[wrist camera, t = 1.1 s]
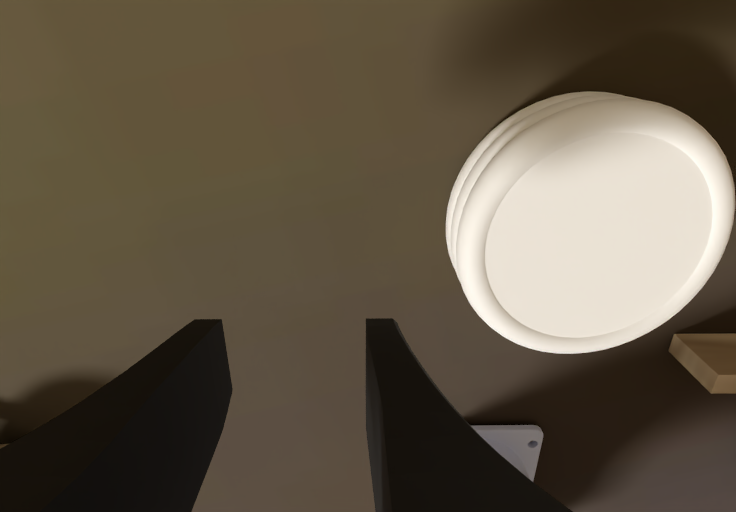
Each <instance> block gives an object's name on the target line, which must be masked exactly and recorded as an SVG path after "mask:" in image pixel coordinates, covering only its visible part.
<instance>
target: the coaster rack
mask: <svg viewBox="0 0 736 512" xmlns="http://www.w3.org/2000/svg"><path fill="white" fill-rule="evenodd" d="M668 351H669V352H670V353H671V354H672V355H673V356H674V357H675V358H676V359H677V360H678V361H679V362H680V363H681V364H682V365H683V366H684V367H685V368H686V369H687V370H688V371H689V372H690V373H691V374H692V375H693V376H694V377H695V378H696V379H697V380H698V381H699V382H700V383H701V384H702V385H703V386H704V387H705V388H706V389H707V390H708V391H709V392H710V393H711V394H716V393H736V333H729V334H674V336H673V339H672V341H671V344H670V347H669V350H668Z"/></svg>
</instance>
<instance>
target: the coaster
mask: <svg viewBox="0 0 736 512" xmlns="http://www.w3.org/2000/svg"><path fill="white" fill-rule="evenodd" d="M734 213H735V187H734V182H733V177H732V172H731V169H730V167H729V164H728V161H727V159H726V156H725V154H724V153H723V151H722V150H721V148H720V146H719V145H718V143H717V142H716V141H715V140H714V138H713V137H712V136H711V135H710V134H709V133H708V132H707V131H706V130H705V129H704V128H703V127H702V126H701V125H700V124H698V123H697V122H696V121H694V120H693V119H692V118H691V117H689V116H688V115H686V114H684V113H682V112H680V111H678V110H676V109H674V108H673V107H670V106H667V105H664V104H661V103H658V102H653V101H647V100H641V99H638V98H634V97H628V96H623V95H620V94H614V93H608V92H592V91H586V92H575V93H567V94H563V95H558V96H553V97H550V98H548V99H545V100H542V101H539V102H536V103H534V104H532V105H530V106H528V107H526V108H524V109H522V110H520V111H518V112H517V113H515V114H514V115H512V116H510V117H509V118H507V119H506V120H504V121H503V122H502V123H500V124H499V125H498V126H497V127H495V128H494V129H493V130H492V131H491V132H490V133H489V134H488V135H487V136H486V137H485V138H484V139H483V140H482V141H481V142H480V143H479V144H478V145H477V146H476V148H475V149H474V151H473V152H472V153H471V155H470V156H469V157H468V159H467V160H466V162H465V164H464V166H463V167H462V169H461V171H460V173H459V175H458V177H457V179H456V182H455V184H454V187H453V189H452V192H451V196H450V200H449V203H448V208H447V216H446V241H447V247H448V252H449V255H450V258H451V261H452V264H453V267H454V268H455V270H456V273H457V276H458V279H459V281H460V282H461V285H462V288H463V291H464V293H465V295H466V297H467V299H468V301H469V303H470V304H471V306H472V307H473V309H474V310H475V311H476V313H477V314H478V315H479V316H480V317H481V318H482V319H483V320H484V321H485V322H486V323H487V324H488V325H489V326H490V327H491V328H492V329H494V330H495V331H496V332H498V333H499V334H501V335H502V336H503V337H505V338H507V339H509V340H511V341H513V342H514V343H516V344H519V345H522V346H524V347H527V348H530V349H534V350H538V351H542V352H550V353H561V354H575V353H588V352H594V351H599V350H604V349H608V348H612V347H615V346H619V345H621V344H624V343H627V342H629V341H632V340H634V339H636V338H638V337H640V336H642V335H644V334H647V333H648V332H650V331H652V330H653V329H655V328H657V327H658V326H660V325H662V324H663V323H665V322H666V321H667V320H669V319H670V318H671V317H673V316H674V315H675V314H677V313H678V312H679V311H680V310H681V309H682V308H683V307H684V306H685V305H686V304H688V303H689V302H690V301H691V300H692V298H693V297H694V296H695V295H696V294H697V293H698V292H699V291H700V289H701V288H702V287H703V286H704V284H705V283H706V282H707V280H708V279H709V277H710V276H711V275H712V273H713V272H714V270H715V268H716V266H717V265H718V263H719V261H720V259H721V257H722V255H723V253H724V250H725V248H726V245H727V243H728V240H729V237H730V233H731V229H732V225H733V221H734Z"/></svg>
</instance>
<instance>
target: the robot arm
mask: <svg viewBox="0 0 736 512" xmlns="http://www.w3.org/2000/svg"><path fill="white" fill-rule="evenodd" d="M231 394H232V384H231V377H230V371H229V364H228V358H227V351H226V345H225V338H224V332H223V325H222V319H200V320H194V321H192V322H191V323H189V324H188V325H186V326H185V327H183V328H182V329H181V330H179V331H178V332H177V333H175V334H174V335H173V336H171V337H170V338H169V339H168V340H166V341H165V342H164V343H162V344H161V345H160V346H158V347H157V348H156V349H154V350H153V351H152V352H150V353H149V354H148V355H146V356H145V357H144V358H142V359H141V360H140V361H138V362H137V363H136V364H134V365H133V366H132V367H130V368H129V369H128V370H126V371H125V372H124V373H122V374H121V375H119V376H118V377H116V378H115V379H113V380H112V381H110V382H109V383H108V384H106V385H105V386H103V387H102V388H100V389H99V390H97V391H96V392H95V393H93V394H92V395H90V396H89V397H87V398H86V399H84V400H83V401H81V402H80V403H78V404H77V405H75V406H74V407H72V408H70V409H69V410H67V411H66V412H64V413H62V414H61V415H59V416H57V417H56V418H54V419H52V420H51V421H49V422H47V423H46V424H44V425H42V426H40V427H39V428H37V429H35V430H34V431H32V432H30V433H28V434H27V435H25V436H23V437H21V438H19V439H18V440H16V441H14V442H12V443H10V444H8V445H6V446H4V447H2V448H0V512H191V511H192V508H193V506H194V503H195V501H196V498H197V495H198V493H199V490H200V488H201V485H202V483H203V480H204V478H205V475H206V472H207V470H208V467H209V465H210V462H211V460H212V457H213V454H214V452H215V449H216V447H217V444H218V441H219V439H220V436H221V433H222V431H223V427H224V423H225V419H226V415H227V411H228V407H229V403H230V398H231ZM366 431H367V440H368V449H369V458H370V466H371V475H372V484H373V492H374V501H375V510H376V512H572V511H571V510H570V509H568V508H567V507H565V506H564V505H563V504H561V503H560V502H559V501H557V500H556V499H555V498H553V497H552V496H551V495H549V494H548V493H547V492H545V491H544V490H543V489H541V488H540V487H539V486H537V485H536V484H535V483H533V481H534V476H535V472H536V467H537V463H538V459H539V454H540V450H541V445H542V441H543V432H542V430H541V428H540V427H539V426H537V425H476V426H470V425H469V423H468V422H467V421H466V420H465V419H464V418H463V417H462V416H461V415H460V414H459V413H458V412H457V410H456V409H455V408H454V407H453V406H452V405H451V403H450V402H449V401H448V400H447V399H446V397H445V396H444V395H443V394H442V392H441V391H440V390H439V389H438V387H437V386H436V385H435V383H434V382H433V381H432V379H431V378H430V377H429V375H428V374H427V372H426V371H425V370H424V368H423V367H422V365H421V364H420V362H419V361H418V360H417V358H416V356H415V355H414V353H413V352H412V350H411V348H410V347H409V345H408V343H407V342H406V340H405V338H404V336H403V335H402V333H401V331H400V329H399V326H398V324H397V322H396V321H395V320H394V319H366ZM530 441H532V442H530Z"/></svg>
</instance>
